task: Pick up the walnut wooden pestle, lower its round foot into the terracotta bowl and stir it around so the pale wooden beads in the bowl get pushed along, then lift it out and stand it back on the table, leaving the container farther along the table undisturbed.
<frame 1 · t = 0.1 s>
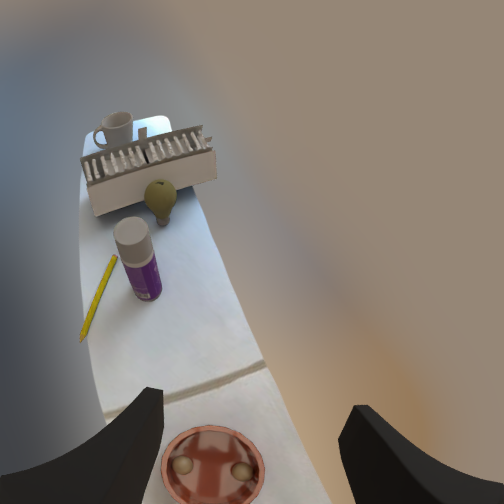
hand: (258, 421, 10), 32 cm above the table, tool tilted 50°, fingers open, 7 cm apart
light bulb: (163, 223, 55), on the table
bead 2: (242, 472, 31), point 2 cm above the table, touching bowl
bead 1: (182, 465, 31), point 2 cm above the table, touching bowl
miniature building: (149, 148, 54), point 8 cm above the table, touching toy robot
container: (148, 289, 47), on the table
bowl: (212, 467, 32), on the table
pencil: (101, 299, 44), on the table
cup: (116, 150, 65), on the table
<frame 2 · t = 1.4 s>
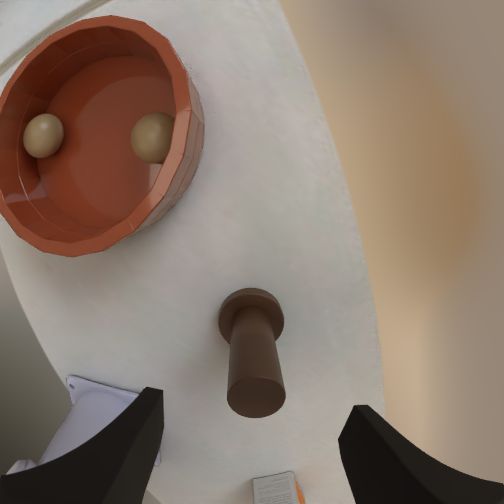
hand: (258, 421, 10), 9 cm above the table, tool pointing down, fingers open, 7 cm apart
bead 2: (156, 137, 15), point 2 cm above the table, touching bowl
bead 1: (43, 135, 14), point 2 cm above the table, touching bowl
cosmetic box: (279, 485, 24), on the table
bowl: (107, 138, 16), on the table
pestle: (250, 316, 19), on the table
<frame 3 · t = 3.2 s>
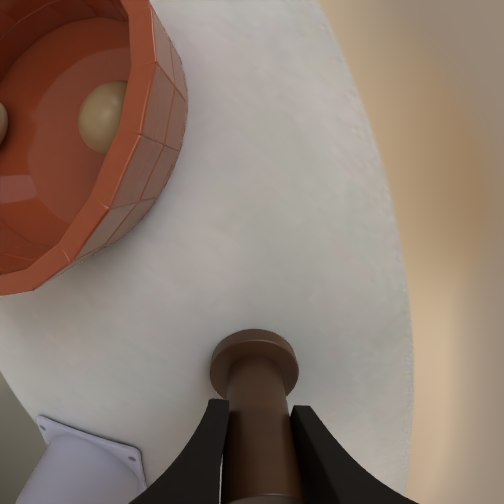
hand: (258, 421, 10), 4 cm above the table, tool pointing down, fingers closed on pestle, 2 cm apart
bead 2: (115, 117, 9), point 2 cm above the table, touching bowl
bowl: (59, 125, 11), on the table
pestle: (253, 364, 14), on the table, touching gripper
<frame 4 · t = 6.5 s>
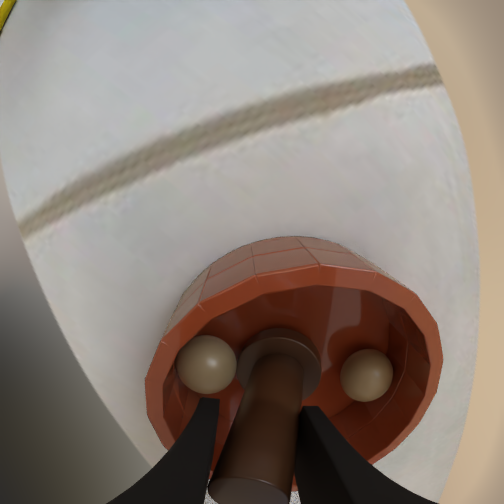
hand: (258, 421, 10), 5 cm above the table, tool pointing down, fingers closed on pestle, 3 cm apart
bead 2: (366, 375, 14), point 2 cm above the table, touching bowl
bead 1: (206, 364, 13), point 2 cm above the table, tilted 12°, touching bowl, pestle
bowl: (288, 352, 15), on the table
pestle: (280, 363, 14), point 1 cm above the table, tilted 13°, touching bead 1, gripper
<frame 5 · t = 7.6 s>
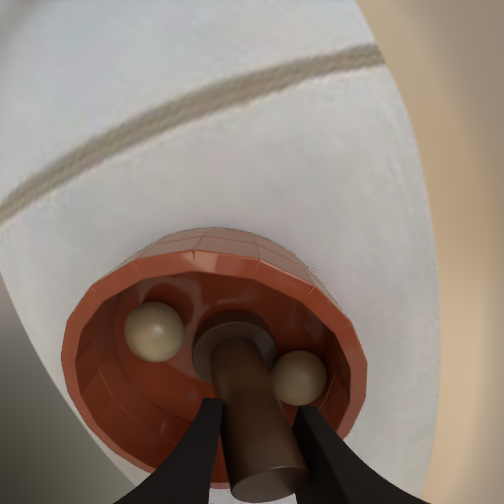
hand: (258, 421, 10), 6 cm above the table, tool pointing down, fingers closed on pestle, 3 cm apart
bead 2: (298, 377, 14), point 2 cm above the table, touching bowl, pestle
bead 1: (154, 332, 13), point 2 cm above the table, tilted 74°, touching bowl
bowl: (216, 346, 15), on the table
pestle: (232, 346, 14), point 1 cm above the table, tilted 10°, touching bead 2, bowl, gripper
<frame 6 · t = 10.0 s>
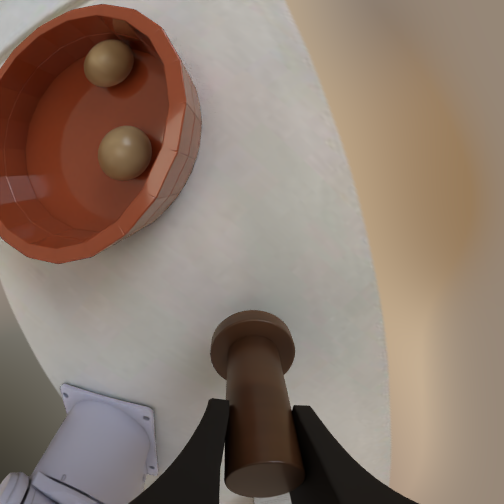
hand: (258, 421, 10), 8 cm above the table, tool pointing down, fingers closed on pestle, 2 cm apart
bead 2: (124, 153, 13), point 2 cm above the table, tilted 27°, touching bowl
bead 1: (108, 63, 12), point 2 cm above the table, tilted 107°, touching bowl
cosmetic box: (280, 494, 23), on the table
bowl: (98, 136, 15), on the table
pestle: (251, 345, 15), point 3 cm above the table, touching gripper
when the fingers open (4 cm above the table, at t = 11.1 s): pestle stays where it is, on the table.
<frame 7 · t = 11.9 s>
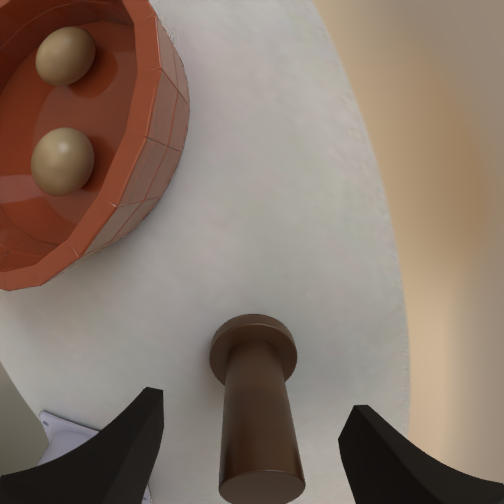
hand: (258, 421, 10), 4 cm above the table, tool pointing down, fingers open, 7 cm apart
bead 2: (62, 161, 10), point 2 cm above the table, tilted 73°, touching bowl
bead 1: (65, 55, 9), point 2 cm above the table, tilted 138°, touching bowl
bowl: (65, 127, 11), on the table
pestle: (252, 350, 14), on the table
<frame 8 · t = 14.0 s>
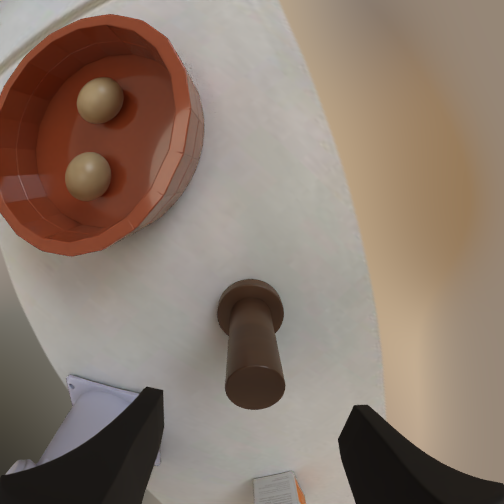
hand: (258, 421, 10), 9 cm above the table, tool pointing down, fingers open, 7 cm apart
bead 2: (88, 176, 15), point 2 cm above the table, tilted 132°, touching bowl
bead 1: (100, 100, 14), point 2 cm above the table, tilted 148°, touching bowl
cosmetic box: (279, 485, 24), on the table
bowl: (106, 137, 16), on the table
pestle: (250, 308, 19), on the table
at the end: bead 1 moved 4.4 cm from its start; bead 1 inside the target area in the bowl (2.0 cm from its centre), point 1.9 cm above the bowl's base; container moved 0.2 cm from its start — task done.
